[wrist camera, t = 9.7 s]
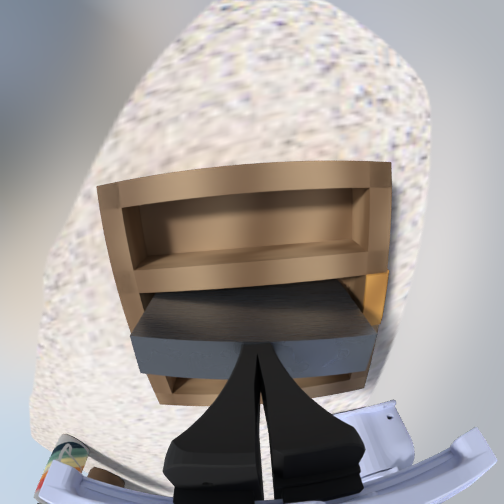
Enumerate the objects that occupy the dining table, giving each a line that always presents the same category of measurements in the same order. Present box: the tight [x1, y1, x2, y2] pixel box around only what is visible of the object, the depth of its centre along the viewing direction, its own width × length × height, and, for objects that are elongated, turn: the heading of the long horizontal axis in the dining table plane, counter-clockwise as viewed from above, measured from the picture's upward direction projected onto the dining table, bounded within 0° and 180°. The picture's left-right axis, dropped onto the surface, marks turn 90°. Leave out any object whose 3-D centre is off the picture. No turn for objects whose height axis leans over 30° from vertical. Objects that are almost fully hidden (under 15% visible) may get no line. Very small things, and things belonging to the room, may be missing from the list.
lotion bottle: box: [34, 434, 89, 504], centre depth 19 cm, size 6×6×20 cm
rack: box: [97, 161, 392, 406], centre depth 18 cm, size 17×17×4 cm
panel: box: [130, 278, 377, 380], centre depth 15 cm, size 12×2×7 cm, turn 89°
